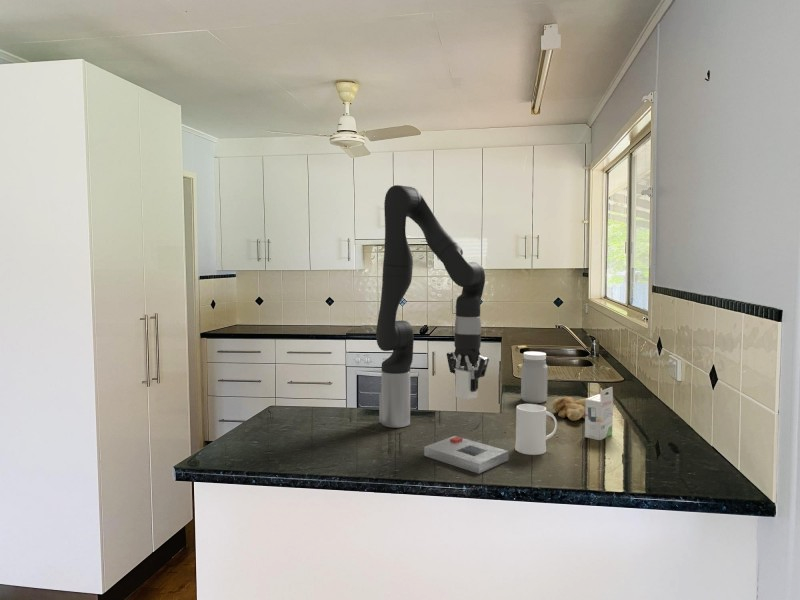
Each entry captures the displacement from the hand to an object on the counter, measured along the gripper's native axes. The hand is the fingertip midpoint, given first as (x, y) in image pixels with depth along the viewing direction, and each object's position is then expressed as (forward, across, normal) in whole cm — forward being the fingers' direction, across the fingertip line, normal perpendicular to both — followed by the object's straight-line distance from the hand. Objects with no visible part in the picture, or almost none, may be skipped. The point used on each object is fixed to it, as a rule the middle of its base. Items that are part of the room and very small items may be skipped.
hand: (466, 389), depth 161 cm
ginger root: (+15, +10, +45) cm, 49 cm away
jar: (+15, -10, +55) cm, 58 cm away
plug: (+2, 0, 0) cm, 2 cm away
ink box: (+15, +26, +31) cm, 43 cm away
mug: (+15, +19, +7) cm, 25 cm away
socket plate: (+15, +9, -12) cm, 21 cm away
